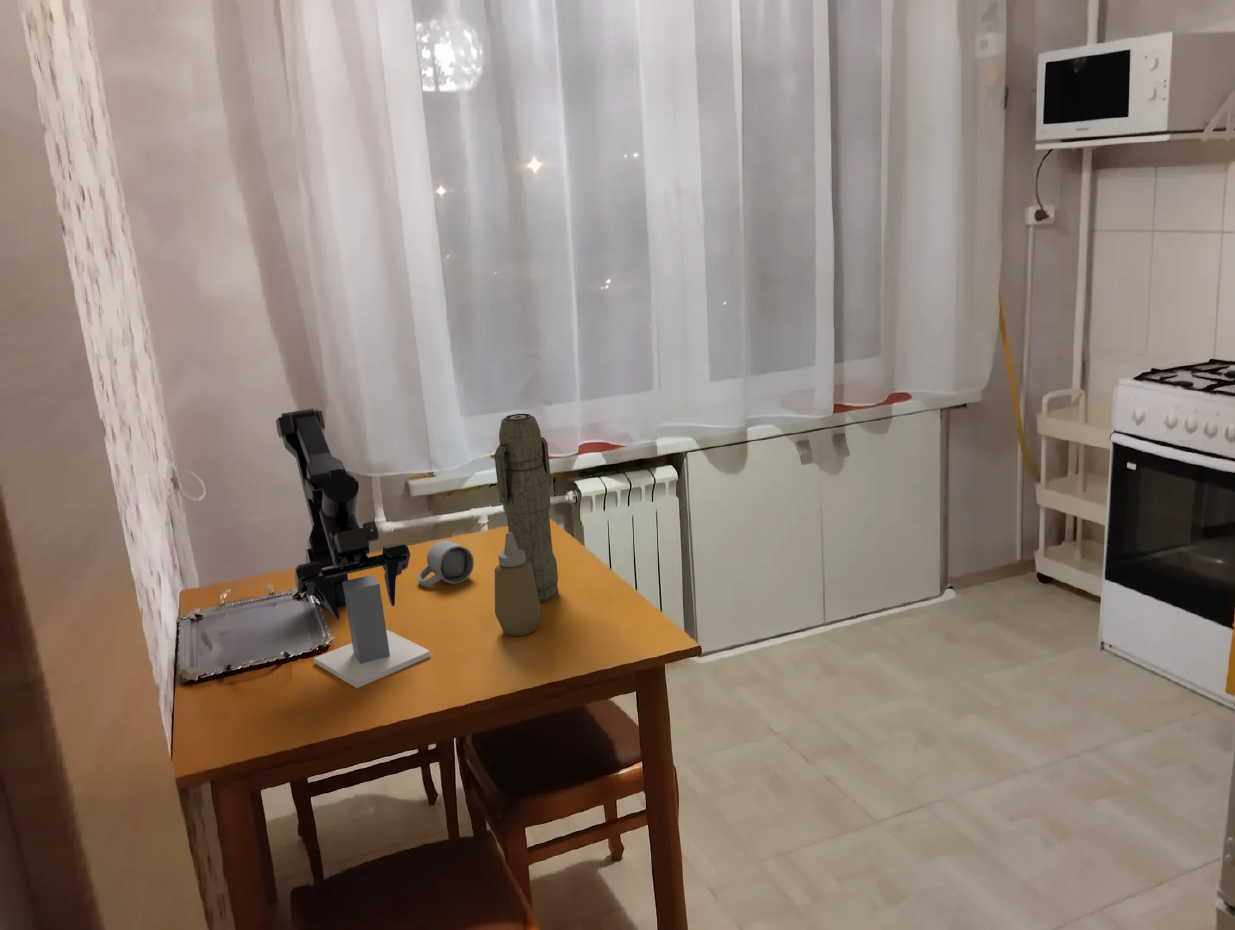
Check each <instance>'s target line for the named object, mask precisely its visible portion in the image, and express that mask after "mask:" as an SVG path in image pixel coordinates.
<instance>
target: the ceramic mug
mask: <svg viewBox="0 0 1235 930" xmlns="http://www.w3.org/2000/svg"><path fill="white" fill-rule="evenodd" d="M474 561H475V560H474V556H473V554H472V551H470V550H469V548H468V547H465V546H464V545H460V544H458V543H455V542H453V541H450V540H440V541H438V542H436V543H434V544H432V546H431V547H430V548H429V550H428V552H427V555H426V563H427V566H426V567H425V568H424V569H422V570H421V571H420V572H419V574H418V575H417V582H418V583H419V584H420V586H422V587H423V588H425V587H431V586H434V585H435V584H436V583H437V582H439V581H441V580H443V582H446V583H448V584H452V585H453V584H455V585H456V584H460V583H463V582H464V581H465V580H467V579H469V578H470V576H471V575H472V572H473V570H474V566H475V565H474V564H475V562H474ZM431 573H434V574H433V575H432V576H430V577H428V578H427V576H428V575H430V574H431ZM425 578H427V579H425Z"/></svg>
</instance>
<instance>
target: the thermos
mask: <svg viewBox="0 0 1235 930" xmlns="http://www.w3.org/2000/svg"><path fill="white" fill-rule="evenodd" d="M498 440H499V444H498V446H497V447H496V450H495V453H494V464H495V472H496V474H495V476H496V482H497V491H498V496H499V498H498V499H499V502H500V503H502V509H503V511H504V513H505V514H506V519H507V522H506V523H507V528H508V532H507V533H509V532H511V533H513V535H514V538H515V541H516V544H517V547H518V549H521V550H523V551H525V556H526V561H527V562H529V563H530V564H531V565H532V569H533V574H534V579H535V583H536V588H537V593H538V597H539V602H540V604H543V603H547V602H549V601H552V600H554V599H555V598H557V597H558V596H559V588H558V587H559V586H558V582H559V575H558V574H559V573H558V572H559V571H558V565H557V564H558V563H557V558H556V556H555V554H554V552H553V551H554V550H553V541H552V533H551V532H552V531H551V521H550V520H551V519H550V508H551V496H550V495H551V494H550V486H551V485H552V479H551V467H550V456H549V447H548V441H547V440H546V439H545V437H543V436H542V433H541V429H540V427H539V424H538V422H537V420H536V418H535V416H534V415H531V414H530V413H515V414H514V413H513V414H509V415H507V416H504V418H502V419H501V423H500V427H499V430H498Z"/></svg>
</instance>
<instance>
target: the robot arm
mask: <svg viewBox="0 0 1235 930" xmlns="http://www.w3.org/2000/svg"><path fill="white" fill-rule="evenodd" d="M275 425H276V431H277V435H278V438H282V442H283V446H284V449H286V450H287V451H288V452H289V453H290V454H291V455H292V456H293V457H294V458H295V459H296V464H297V469H298V473H299V477H300V481H301V487H302V489H303V494H304V499H305V502H306V505H307V511H308V516H309V518H310V520H309V521H310V523H311V527H312V528H311V531H310V534H309V537H308V541H307V548H306V549H305V563H302V564H298V565H297V566H296V568H295V569H294V582H295V586H296V591H297V593H298V594H306V595H307V596H308V597H312V596H314V598H315V599H318V601H319V602H320V605H319V606H321V607H323V608H324V609H327V610H328V611H329V613H330V614H331V615H332V616H333V617H334V619H335V620H336V621H339V620H340V613H339V609H338V607H340V606H344V605H346V601H345V595H344V589H343V581H347V580H349V574H352V573H356V572H361V571H365V570H370V569H374V568H379V567H382V568H383V571H384V576H383V577H384V581H385V587H386V591H387V595H388V600H389V603H390V605H391V607H394V606H395V605H396V582H397V576H399V575H402V573H403V571H405V570H406V569H408V566H409V562H410V558H411V553H410V550H409V546H408V545H407V544H406V543H404V542H398V543H394V544H388V545H384V546H382V552H381V554H377V555H373V556H368V554H370V550H371V549H370V546H371V545H370V543H371V542H375V541H378V540H379V538H380V537H379V536H380V535H379V531H378V528H377V525H376V522H375V520H372V521H367V522H364V523H363V524H362V527H360V526H359V522H358V519H357V515H356V513H355V512H356V511H357V505H358V497H359V488H360V487H359V486H360V485H359V480H358V479H356V478H355V477H354V475H352V474H351V472H350V471H349V470H346V468H345V466H344V463H343V461H342V460H340V459H339V458H337V457H334V456H333V455H332V453H331V450H330V448H329V445H328V443H327V440H326V437H325V435H324V432H323V431H325V430H326V425H325V420H324V415H323V411H322V410H318V409H314V408H308V409H300V410H295V411H290V412H289V411H288V412H281V414H280V417H277V419H276V420H275Z"/></svg>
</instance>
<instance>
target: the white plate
mask: <svg viewBox="0 0 1235 930" xmlns="http://www.w3.org/2000/svg"><path fill="white" fill-rule="evenodd" d="M386 632H387V639H388V645H389V652H390V656H388V657H385V658H381V659H377V660H373V661H370V662H366V663H362V664H360V663H359V661H358V659H357V658H356V656H355V654H354V652H353V646H352V642H351V643H348V644H346V645H344V646H341V647H338V648H336V649H333V650H330V651H328V652H325V653H323V654H320V655H317V656H315V657H313V660H314V661H313V662H314V664H316V665H317V666H319V667H321V668H322V669H324V670H326V671H327V672H329V673H331V674H332V675H334V676H335V677H337V678H338V679H341V680H342V681H343V682H346V683H347V684H348V685H351V686H352V687H354V688H355V689H359V688H361V687H363V686H365V685H368V684H371V683H372V682H375V681H377V680H379V679H382V678H384V677H386V676H389V675H392V674H393V673H396V672H398V671H400V670H402V669H405V668H407V667H410V666H413V665H414V664H417V663H419V662H421V661H424V660H426V659H428V658H430V657H432V656H431V655H432V654H431V650H429V649H427V648H425V647H423V646H421V645H419V644H417V643H415V642H413V641H411V640H409V639H406V638H404V637H403V636H401V635H399V634H397V633H394V632H392V631H391V630H388V629H387V628H386Z"/></svg>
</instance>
